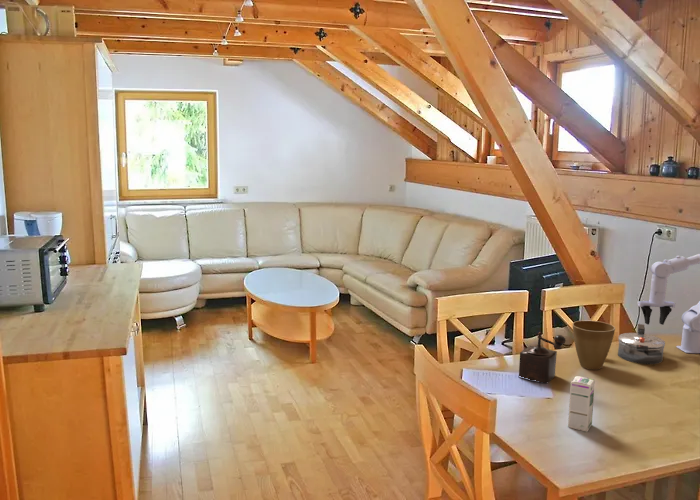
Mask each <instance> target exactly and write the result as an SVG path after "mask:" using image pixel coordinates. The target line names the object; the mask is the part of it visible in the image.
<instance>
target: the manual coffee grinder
mask: <svg viewBox="0 0 700 500" xmlns="http://www.w3.org/2000/svg"><path fill="white" fill-rule="evenodd" d="M542 334H543V333H542V332H541V331H539V332H538V333H537V345H535V346H534V345H529V346H527V347H526V348H524V349H523V350H521V351H520V352H519V363H518V364H519V367H518V377H519V376H521V377H524V378H528V379H530V380H536V381H539V382H538V383H541V382H543V383H542V384H547V382H548V383H549V382H551V381H552V380H553V379H554V377H555V376H556V367H557V365H556V364H557V355H558V354H557V353H558V352H557V351H555V350H562V347H563V345H564V344H565V343H566V338H565V336H563V335H562V334H557V335H555V336H554V341H551V340H549V339H547V338H544V337H543V336H542ZM541 341H543V342H545V343H548V344H550V345H552V346H553V348H555V350H553V349H548V348H546V347H544V346H542V345H541ZM530 380H529V381H530ZM536 381H535V382H536Z"/></svg>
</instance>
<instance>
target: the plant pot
mask: <svg viewBox="0 0 700 500" xmlns="http://www.w3.org/2000/svg"><path fill="white" fill-rule="evenodd" d="M588 320H589V319H585V320H584V321H583V320H578V321H574V322H572V334H573V342H574V346H575V351H576V355H577V358H578V362H579V364H580V367H581V368H583V369H587V370H591V371H593V370H594V371H595V370H597V371H598V370H601V368H602V367H603V365H604V363H605V361H606V360H607V357H608V355H609V352H610V349H611V346H612V343H613V339H614V336H615V331H616V326H614V325H613V324H610V323H609V322H608V323H607V322H604V321H597V320H591V321H588Z"/></svg>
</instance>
